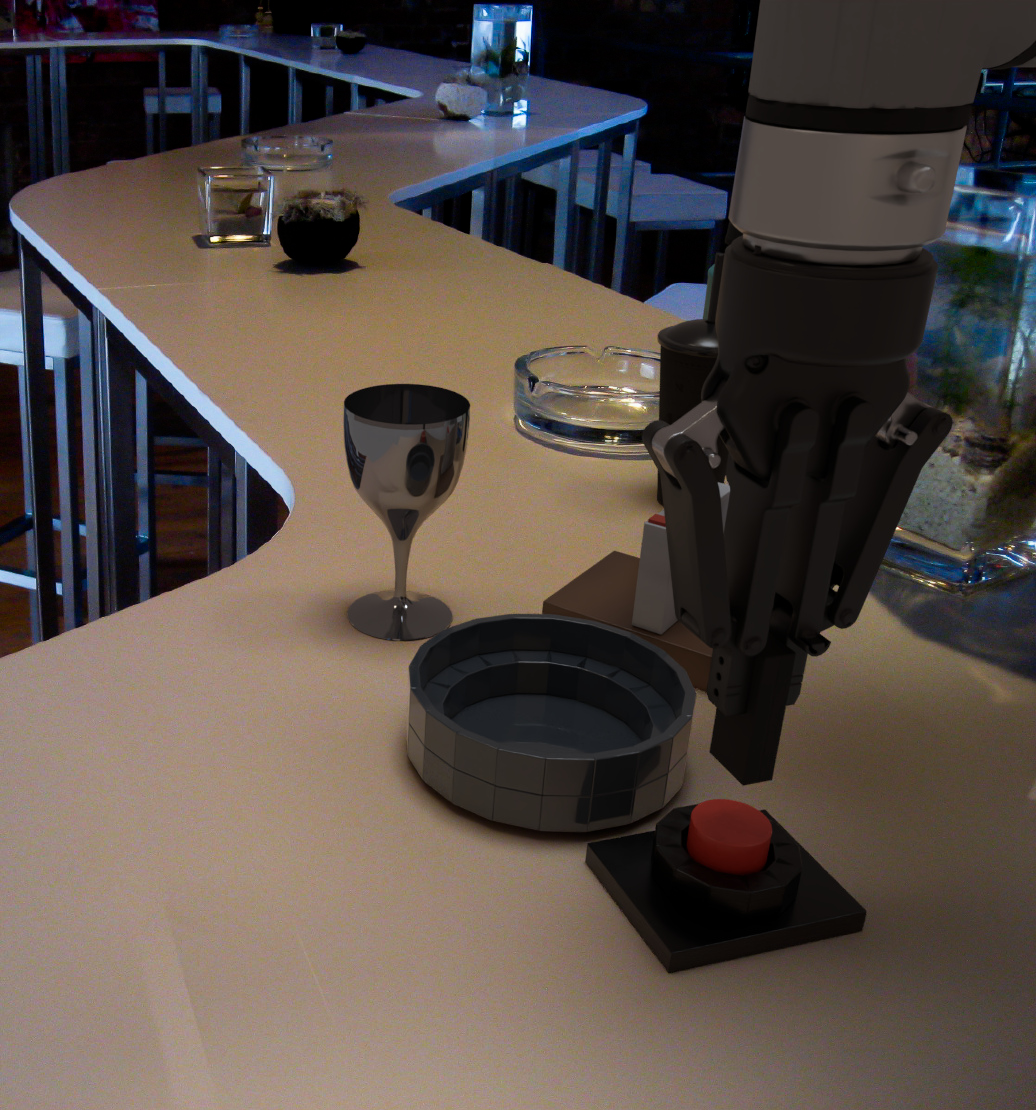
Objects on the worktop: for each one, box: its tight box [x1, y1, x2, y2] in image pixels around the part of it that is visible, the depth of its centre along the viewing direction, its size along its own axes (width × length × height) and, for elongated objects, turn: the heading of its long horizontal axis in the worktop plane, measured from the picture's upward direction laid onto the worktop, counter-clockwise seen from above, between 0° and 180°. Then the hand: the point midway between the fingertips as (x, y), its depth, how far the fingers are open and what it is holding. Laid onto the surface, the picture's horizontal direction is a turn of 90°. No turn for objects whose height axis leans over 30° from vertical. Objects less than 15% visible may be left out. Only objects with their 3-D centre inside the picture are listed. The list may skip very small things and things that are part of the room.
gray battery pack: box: [632, 482, 730, 634], centre depth 82 cm, size 9×2×7 cm, turn 140°
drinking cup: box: [656, 252, 729, 507], centre depth 101 cm, size 8×8×20 cm
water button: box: [687, 798, 772, 875], centre depth 60 cm, size 4×4×2 cm
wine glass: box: [342, 383, 471, 642], centre depth 84 cm, size 8×8×15 cm
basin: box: [405, 613, 697, 833], centre depth 71 cm, size 15×15×5 cm
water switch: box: [584, 803, 868, 975], centre depth 61 cm, size 10×8×3 cm
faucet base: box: [541, 550, 713, 693], centre depth 84 cm, size 14×10×2 cm
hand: (740, 765), depth 59 cm, fingers closed
